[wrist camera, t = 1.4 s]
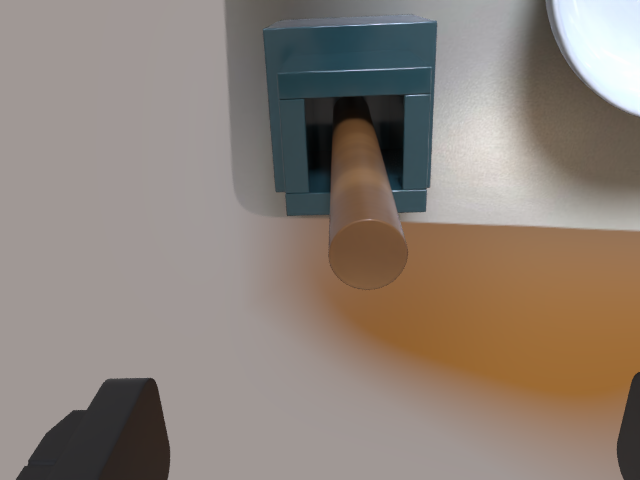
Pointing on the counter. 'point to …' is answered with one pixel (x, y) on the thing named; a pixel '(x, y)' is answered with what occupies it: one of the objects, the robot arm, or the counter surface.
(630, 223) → the counter surface
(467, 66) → the counter surface
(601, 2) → the serving bowl
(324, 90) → the utensil holder
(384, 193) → the stick
